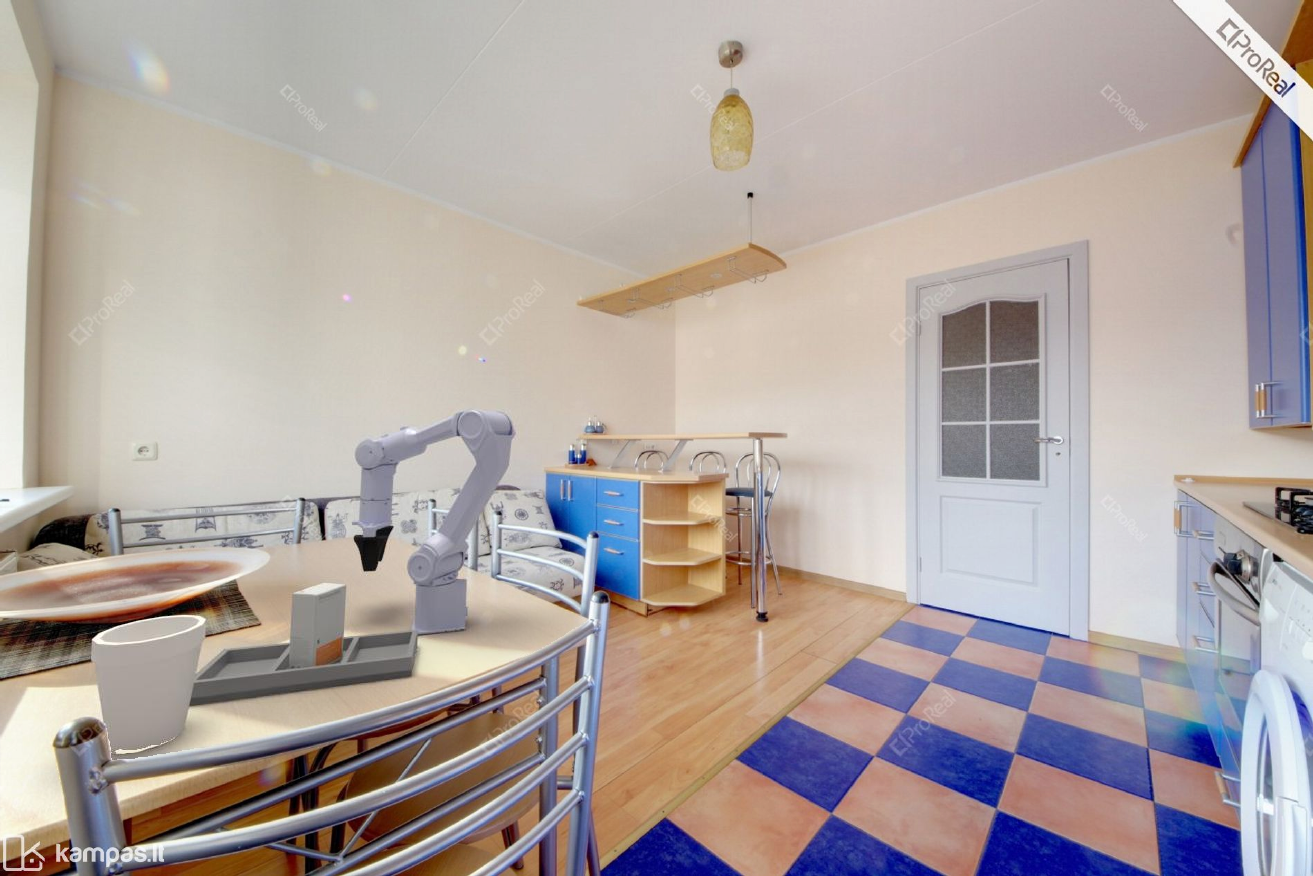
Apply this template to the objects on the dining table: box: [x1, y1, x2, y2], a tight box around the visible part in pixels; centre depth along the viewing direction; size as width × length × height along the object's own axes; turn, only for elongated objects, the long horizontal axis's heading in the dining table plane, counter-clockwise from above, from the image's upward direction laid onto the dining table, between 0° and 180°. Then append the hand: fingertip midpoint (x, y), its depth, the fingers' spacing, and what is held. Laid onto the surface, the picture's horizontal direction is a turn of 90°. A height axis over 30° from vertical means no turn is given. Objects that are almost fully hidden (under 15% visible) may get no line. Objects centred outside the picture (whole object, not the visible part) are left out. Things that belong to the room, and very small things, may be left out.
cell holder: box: [189, 629, 419, 707], centre depth 76 cm, size 27×12×3 cm, turn 112°
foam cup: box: [90, 614, 207, 756], centre depth 59 cm, size 10×9×13 cm
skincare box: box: [289, 582, 347, 669], centre depth 76 cm, size 6×4×12 cm
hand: (373, 566), depth 99 cm, fingers open, 7 cm apart
